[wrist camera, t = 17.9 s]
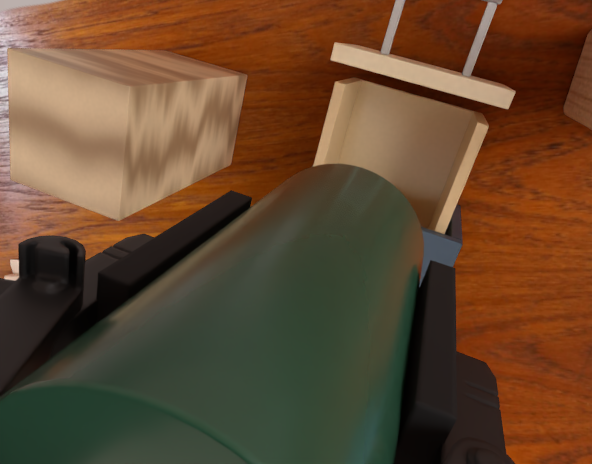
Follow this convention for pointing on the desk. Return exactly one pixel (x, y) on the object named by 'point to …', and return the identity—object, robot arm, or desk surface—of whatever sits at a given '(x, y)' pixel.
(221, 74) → the stand
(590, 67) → the decorative item
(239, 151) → the desk surface
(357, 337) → the tin
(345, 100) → the drawer
